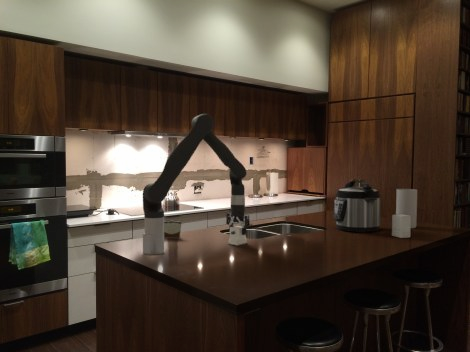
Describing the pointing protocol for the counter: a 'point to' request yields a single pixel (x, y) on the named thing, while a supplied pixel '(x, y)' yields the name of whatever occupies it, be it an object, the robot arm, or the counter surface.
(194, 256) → the counter surface
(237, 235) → the plug
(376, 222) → the pressure cooker
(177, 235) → the food container
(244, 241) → the socket block
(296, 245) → the counter surface
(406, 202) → the cylinder vase
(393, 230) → the supplement box
